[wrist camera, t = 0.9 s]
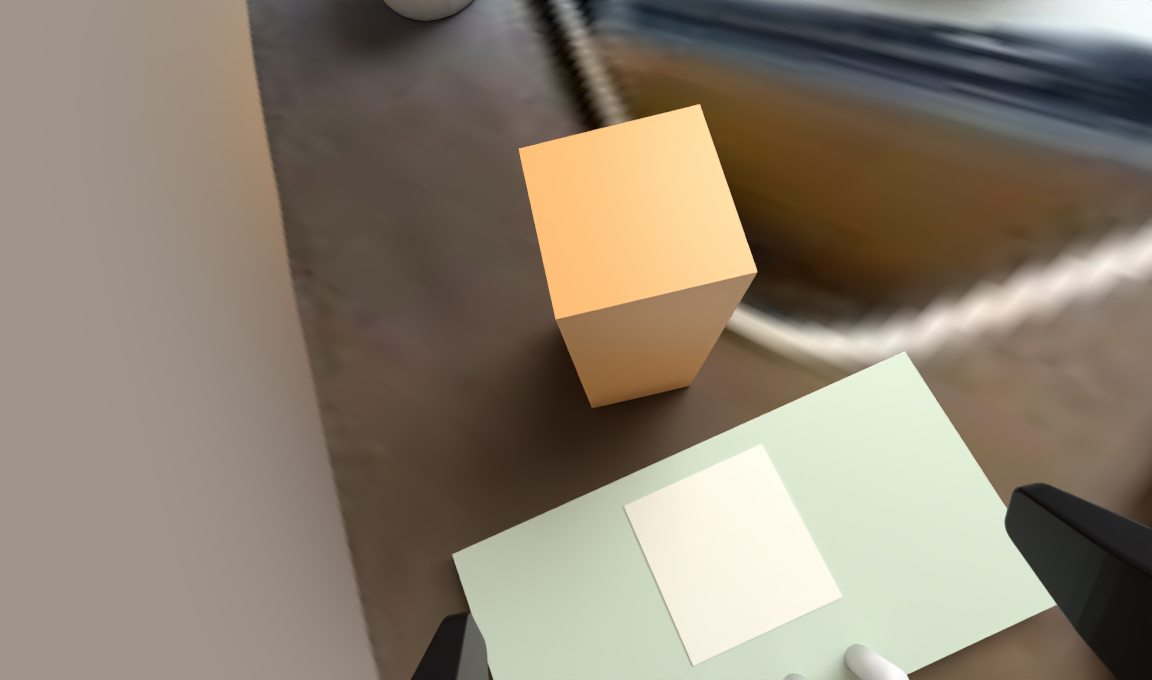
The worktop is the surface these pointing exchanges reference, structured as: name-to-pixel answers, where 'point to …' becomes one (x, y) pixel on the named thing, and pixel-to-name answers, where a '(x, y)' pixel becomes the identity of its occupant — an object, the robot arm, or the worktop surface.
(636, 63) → the worktop surface
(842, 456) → the board
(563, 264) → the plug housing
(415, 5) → the cupcake
